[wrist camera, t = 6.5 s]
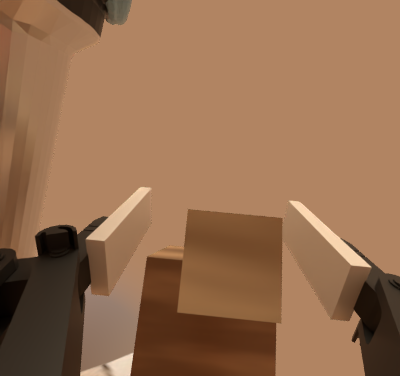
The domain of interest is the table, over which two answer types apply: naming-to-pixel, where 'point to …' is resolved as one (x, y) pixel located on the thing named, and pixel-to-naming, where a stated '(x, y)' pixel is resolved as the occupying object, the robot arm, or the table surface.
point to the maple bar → (232, 266)
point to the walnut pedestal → (194, 332)
